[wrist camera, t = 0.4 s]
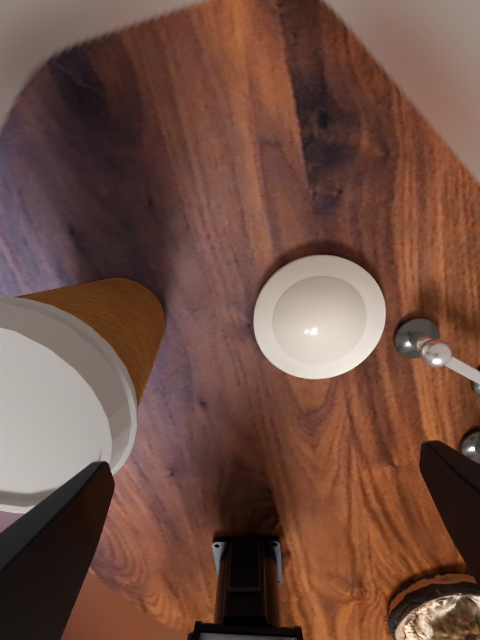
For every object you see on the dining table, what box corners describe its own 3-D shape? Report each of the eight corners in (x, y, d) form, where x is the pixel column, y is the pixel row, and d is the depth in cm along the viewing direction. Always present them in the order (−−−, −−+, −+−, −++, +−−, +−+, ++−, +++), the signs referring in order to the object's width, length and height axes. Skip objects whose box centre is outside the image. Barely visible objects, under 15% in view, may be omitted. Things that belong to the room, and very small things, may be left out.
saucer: (377, 369, 23) (382, 375, 22) (258, 377, 24) (258, 383, 23) (385, 248, 20) (390, 250, 19) (248, 260, 21) (248, 262, 20)
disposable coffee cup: (124, 224, 20) (-33, 245, 9) (214, 332, 23) (177, 454, 12) (32, 306, 23) (-188, 404, 11) (122, 397, 25) (16, 552, 14)
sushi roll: (359, 571, 32) (375, 622, 28) (515, 546, 30) (555, 598, 26) (380, 652, 36) (396, 705, 32) (516, 635, 34) (550, 690, 31)
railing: (494, 457, 26) (531, 494, 22) (383, 462, 26) (402, 499, 23) (529, 309, 21) (580, 327, 18) (395, 318, 22) (420, 338, 19)
